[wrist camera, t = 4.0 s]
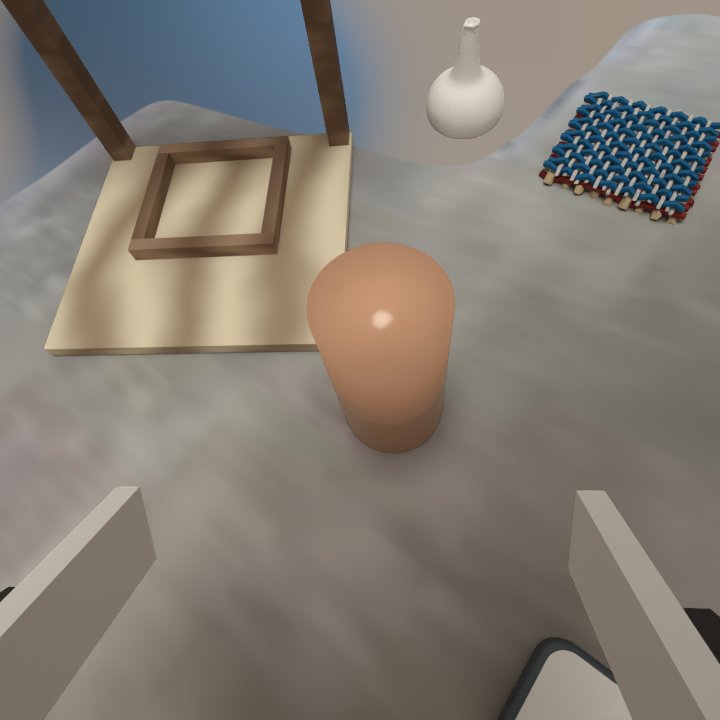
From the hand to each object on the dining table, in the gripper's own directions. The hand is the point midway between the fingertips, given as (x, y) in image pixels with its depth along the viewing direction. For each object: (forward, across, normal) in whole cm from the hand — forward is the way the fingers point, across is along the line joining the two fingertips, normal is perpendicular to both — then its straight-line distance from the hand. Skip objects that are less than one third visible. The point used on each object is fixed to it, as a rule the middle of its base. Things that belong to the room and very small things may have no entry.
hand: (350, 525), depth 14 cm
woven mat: (+30, +19, +11) cm, 37 cm away
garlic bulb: (+34, +7, +15) cm, 38 cm away
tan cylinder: (+16, +1, -3) cm, 16 cm away
